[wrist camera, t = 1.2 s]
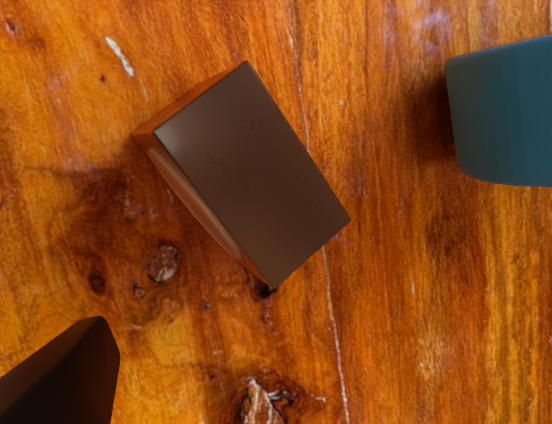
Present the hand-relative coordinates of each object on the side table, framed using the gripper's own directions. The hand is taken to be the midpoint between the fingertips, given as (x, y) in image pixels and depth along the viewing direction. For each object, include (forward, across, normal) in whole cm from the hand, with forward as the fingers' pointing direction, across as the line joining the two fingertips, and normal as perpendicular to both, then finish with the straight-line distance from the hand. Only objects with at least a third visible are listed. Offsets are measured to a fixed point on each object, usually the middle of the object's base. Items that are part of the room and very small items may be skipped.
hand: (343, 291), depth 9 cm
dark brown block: (+14, +4, +2) cm, 15 cm away
